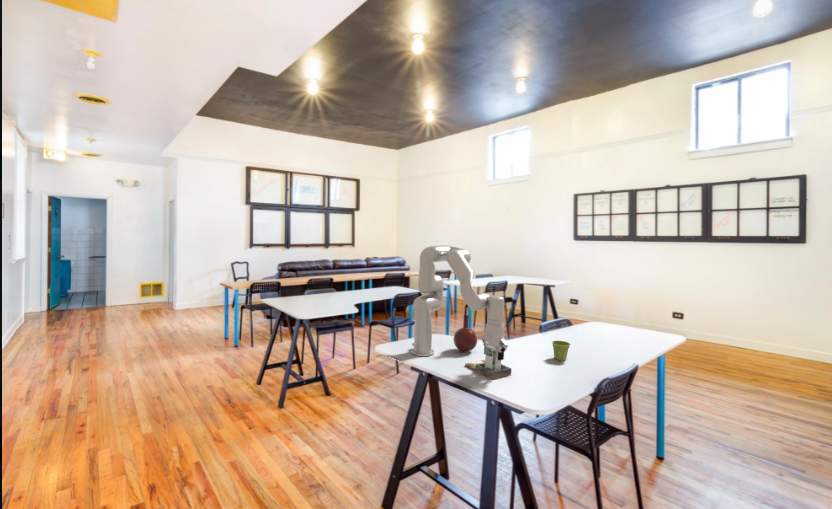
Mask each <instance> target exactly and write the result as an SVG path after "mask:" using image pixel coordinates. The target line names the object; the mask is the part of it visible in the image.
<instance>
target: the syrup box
mask: <svg viewBox="0 0 832 509" xmlns="http://www.w3.org/2000/svg"><path fill="white" fill-rule="evenodd" d="M500 348H501V347H500ZM501 349H502V348H501ZM498 352H499V350H498V348H495V347H493V346H491V345H489V343H488V341H486V353H485V354H484V360H485V368H486V369H488V370H490V371H492V372H493V371H498V370H501V364H502V360H498Z"/></svg>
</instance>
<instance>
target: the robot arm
mask: <svg viewBox="0 0 832 509" xmlns="http://www.w3.org/2000/svg"><path fill="white" fill-rule="evenodd" d="M471 258H472V257H471V254H470V252H469V251H468V250H466V249H464V248H460V247H455V246H452V245H445V244H444V245H432V246H428V247H424V248H423V249H422V250H421V252H420V254H419V270H418V279H417V288H418V291H419V293H421V294H422V295H420V296H418V297H416V298H415V299H414V301H413V303H412V306H413V313H414V335H413V337H414V339H413V343H411V345H412V346H413V348H412V349H411V350H410V354H412V356H417V357H429V356H433V355H434V354H435V351H434V349H433V348H432V343H433V341H432V340H433V319H432V318H433V317H432V315H431V313H432V312H435V311H438V310H439V309H440V308H441V307H442V303H443V296H444V288H445V287H444V280H443V278H442V276H440V274H439V275H438V274H436V265H435V263H440V262H447V263H448V266H449V267H450V268H451V270H452V272H453V274H454V275H455V277H456V278H457V280H458V281H459V290H460V295H461V297H462V298H463V301H464V302H465V303H466V305H467V306H468V307H469V309H471V310H472V311H475V312H477V311H481V310H486V309H487V317H486V320H487V322H486V323H485V326H484V327H485V328H484V334H482V335H481V339H482V340H481V341H482V343H483V346H484V348H483V349H484V350H483V354H484V355H485V353H486V341H488V343H489V345H491V346H493V347H495V348H498V350H499V352H498V360H501V361H504V360H505V352H506V351H507V349H508V346H509V344H508V343H507V342H506V341H505V337H506V336H505V327H504V316H505V315H504V314H505V298H504V297H503V296H500V295H493V294H490V293H488V292H482V293H478V294H477V292H476V290H475V289H474V287H473V285H472V280H473V278H474V276H475V272H474V270H473V269H472V266H471V265H470V262H471ZM500 347H501V348H502V349H501V348H500Z"/></svg>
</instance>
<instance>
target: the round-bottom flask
mask: <svg viewBox="0 0 832 509" xmlns="http://www.w3.org/2000/svg"><path fill="white" fill-rule="evenodd" d="M469 317H470V315H468V314H467V315H463V327H461V328H459V329H457V330H456V331H455V333H454V334H453V335H454V336H453V344H454V346H455V348H456V349H458V350H459V351H461V352H464V353H466V352H471V351H473V350H475V347H476V346H477V343H478V336H477V333H476V332H475V331H474V330H473V329H472V328H469V320H470V319H469Z"/></svg>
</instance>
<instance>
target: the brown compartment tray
mask: <svg viewBox="0 0 832 509" xmlns="http://www.w3.org/2000/svg"><path fill="white" fill-rule="evenodd" d="M464 364H465V365H464V367H466V368H468V369H470V370H472V371H474V372H476V373H479V374H480V375H483V376H484V377H486V378H488V377H489V379H491V380H495V379H499V378H503V377H504V376H505V377H509V376H511V375H512V368H511V367H509V366H506V365H505V364H502V363H501V370H498V371H493V372H492V371H490V370H488V369H486V368H485V359H482V360H476V361H472V362H467V363H464ZM508 375H509V376H508Z"/></svg>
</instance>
